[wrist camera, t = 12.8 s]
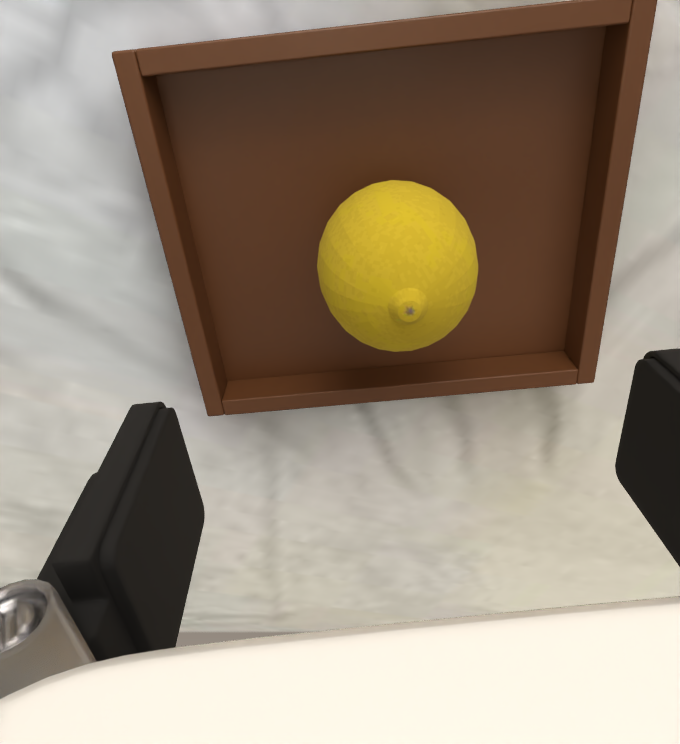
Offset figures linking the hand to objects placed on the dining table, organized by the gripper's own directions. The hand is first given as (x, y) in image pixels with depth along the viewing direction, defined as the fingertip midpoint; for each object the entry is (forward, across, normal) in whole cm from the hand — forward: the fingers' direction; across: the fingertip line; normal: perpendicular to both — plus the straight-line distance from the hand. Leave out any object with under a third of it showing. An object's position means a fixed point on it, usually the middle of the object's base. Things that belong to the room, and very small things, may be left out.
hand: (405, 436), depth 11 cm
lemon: (+14, -1, 0) cm, 14 cm away
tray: (+14, -1, 0) cm, 14 cm away
